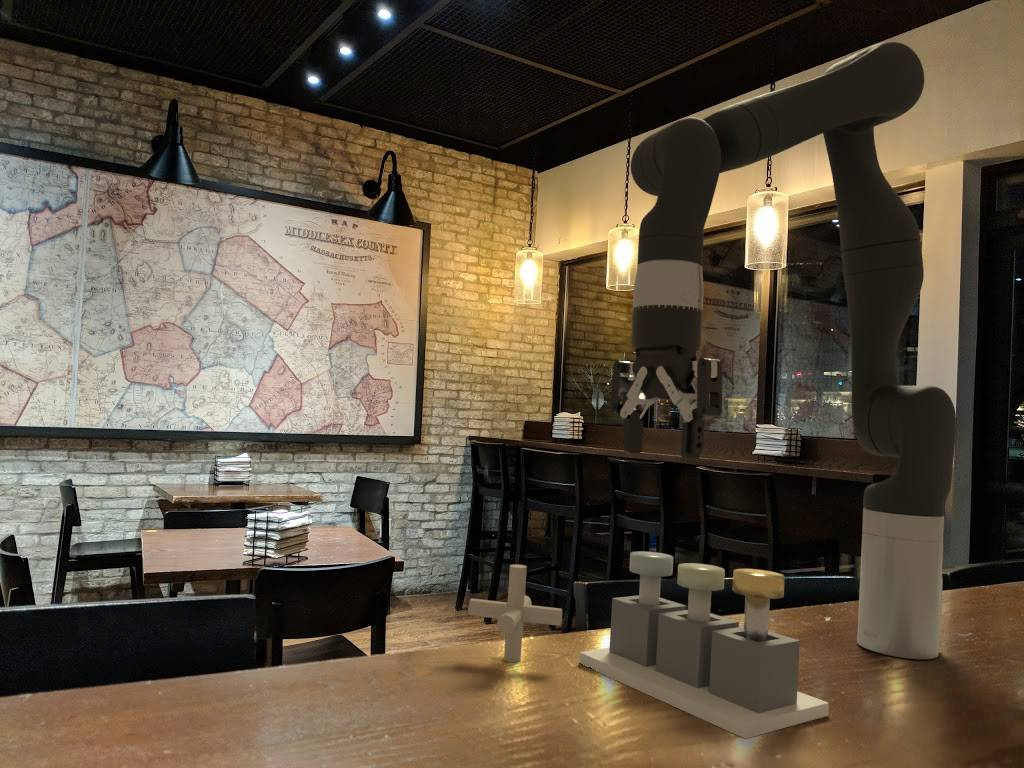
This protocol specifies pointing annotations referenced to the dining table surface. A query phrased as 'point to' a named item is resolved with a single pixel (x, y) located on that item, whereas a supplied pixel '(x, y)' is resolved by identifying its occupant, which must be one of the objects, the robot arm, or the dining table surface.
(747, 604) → the brass plug
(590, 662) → the socket board
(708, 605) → the sage plug
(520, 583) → the pipe connector
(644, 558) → the slate plug
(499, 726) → the dining table surface
